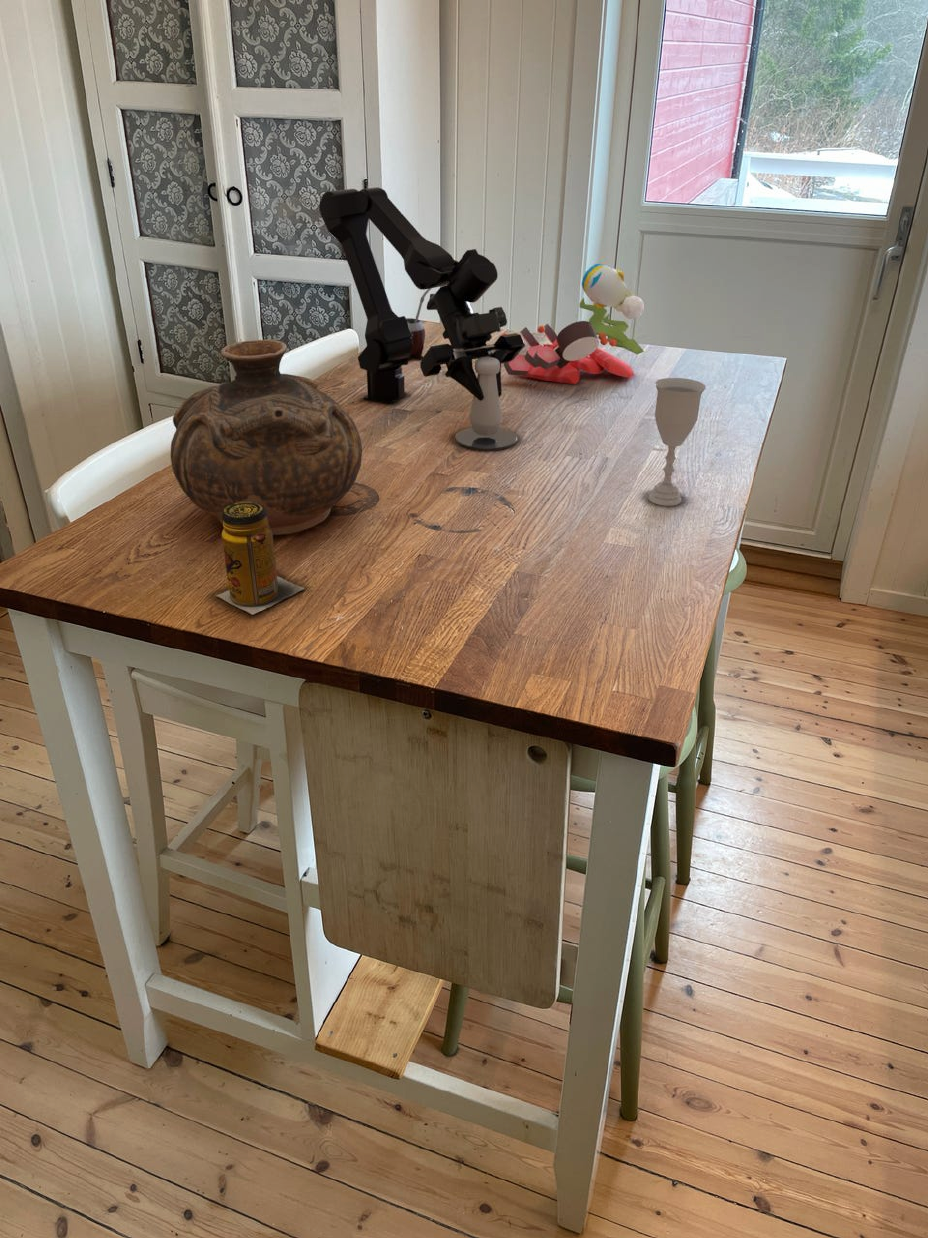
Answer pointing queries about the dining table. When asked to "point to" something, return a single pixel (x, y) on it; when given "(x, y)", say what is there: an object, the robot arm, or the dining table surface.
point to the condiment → (251, 559)
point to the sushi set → (584, 335)
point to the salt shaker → (486, 398)
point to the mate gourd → (417, 332)
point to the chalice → (674, 427)
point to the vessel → (265, 442)
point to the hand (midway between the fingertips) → (490, 397)
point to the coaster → (486, 440)
